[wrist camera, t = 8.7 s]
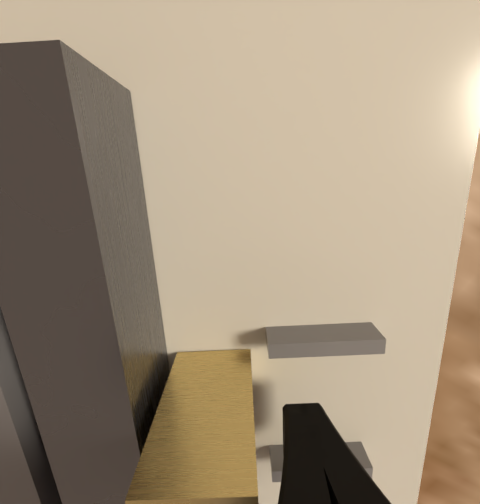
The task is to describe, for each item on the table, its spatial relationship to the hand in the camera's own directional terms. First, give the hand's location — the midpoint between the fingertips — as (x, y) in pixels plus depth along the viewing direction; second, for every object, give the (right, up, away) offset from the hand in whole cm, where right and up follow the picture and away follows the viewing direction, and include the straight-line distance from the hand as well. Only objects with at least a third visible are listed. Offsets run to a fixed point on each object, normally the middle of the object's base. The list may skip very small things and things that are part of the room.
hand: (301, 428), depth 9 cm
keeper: (-3, 0, +1) cm, 3 cm away
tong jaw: (-6, +2, +1) cm, 6 cm away
